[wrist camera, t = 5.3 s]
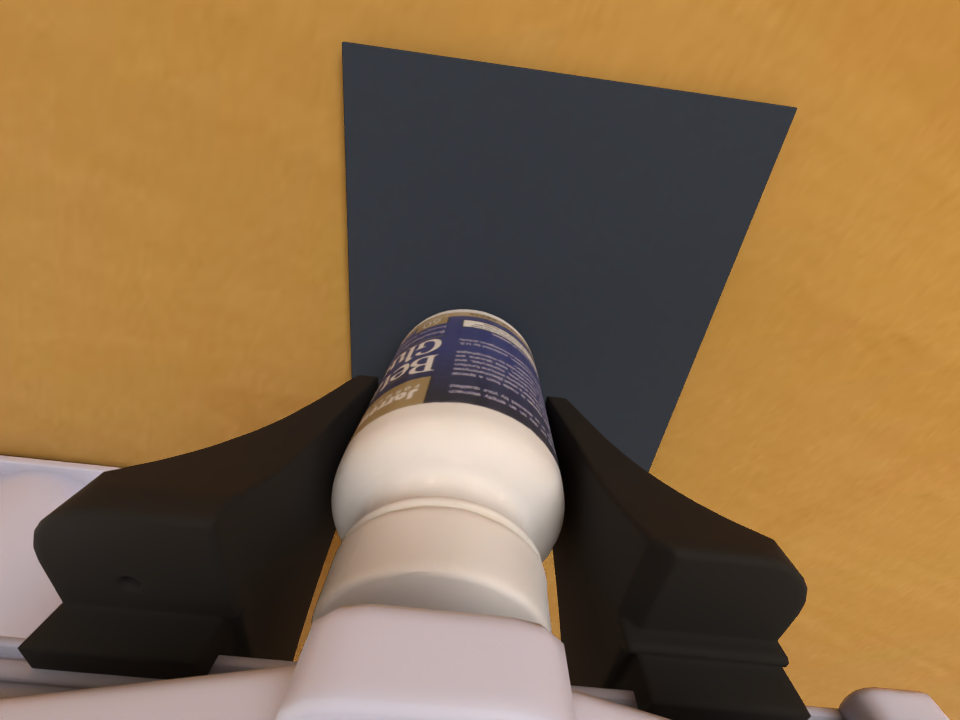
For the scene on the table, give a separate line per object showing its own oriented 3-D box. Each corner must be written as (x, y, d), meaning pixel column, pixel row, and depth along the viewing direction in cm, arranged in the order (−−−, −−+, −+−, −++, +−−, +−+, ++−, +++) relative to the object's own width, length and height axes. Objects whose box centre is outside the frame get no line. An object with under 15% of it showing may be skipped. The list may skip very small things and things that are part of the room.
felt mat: (357, 516, 20) (356, 520, 20) (344, 44, 12) (341, 40, 11) (616, 542, 21) (617, 547, 20) (791, 109, 12) (798, 107, 12)
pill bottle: (434, 277, 13) (331, 475, 5) (561, 347, 14) (674, 617, 6) (374, 392, 15) (226, 679, 7) (489, 446, 17) (491, 753, 8)
